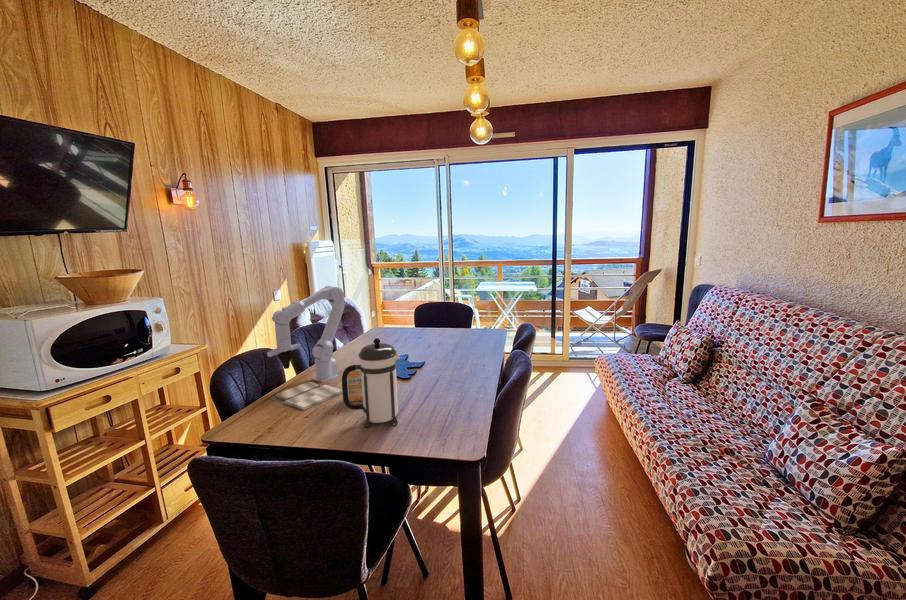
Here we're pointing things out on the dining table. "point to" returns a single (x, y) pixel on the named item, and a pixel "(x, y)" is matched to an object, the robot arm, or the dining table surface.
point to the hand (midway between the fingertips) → (286, 368)
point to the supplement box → (355, 386)
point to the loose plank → (297, 390)
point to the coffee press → (375, 383)
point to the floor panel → (311, 397)
